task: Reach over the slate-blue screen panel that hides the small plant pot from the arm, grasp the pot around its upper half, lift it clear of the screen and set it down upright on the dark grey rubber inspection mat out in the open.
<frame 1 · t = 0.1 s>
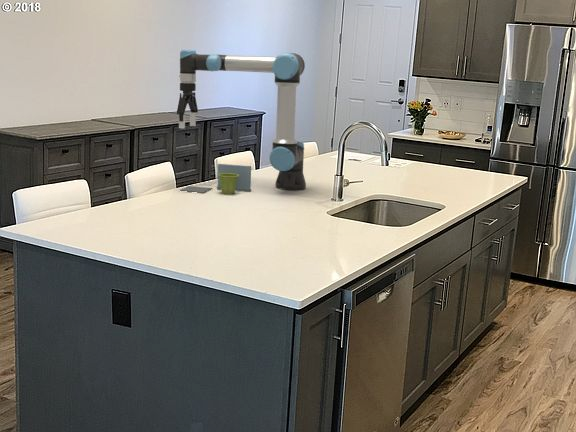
hand: (187, 127, 372), 28 cm above the countertop, fingers open, 13 cm apart
mat: (196, 190, 363), on the countertop
plant pot: (228, 193, 359), on the countertop
screen: (234, 190, 367), on the countertop
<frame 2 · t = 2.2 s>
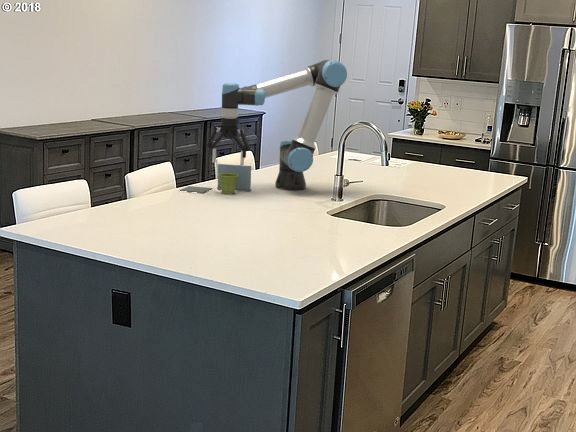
hand: (228, 163, 356), 14 cm above the countertop, fingers open, 13 cm apart
nothing on the countertop moved.
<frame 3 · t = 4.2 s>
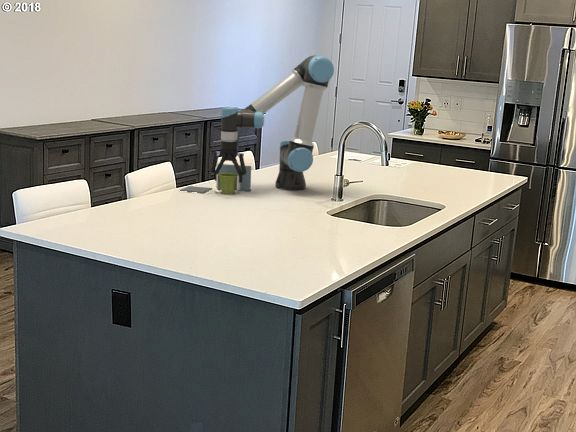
hand: (228, 188, 358), 2 cm above the countertop, fingers closed on plant pot, 9 cm apart
plant pot: (228, 193, 359), on the countertop, touching gripper
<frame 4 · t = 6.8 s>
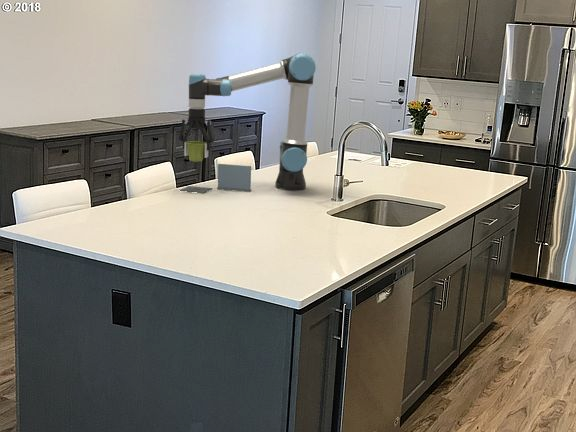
hand: (196, 156, 359), 16 cm above the countertop, fingers closed on plant pot, 9 cm apart
plant pot: (196, 161, 360), point 14 cm above the countertop, touching gripper
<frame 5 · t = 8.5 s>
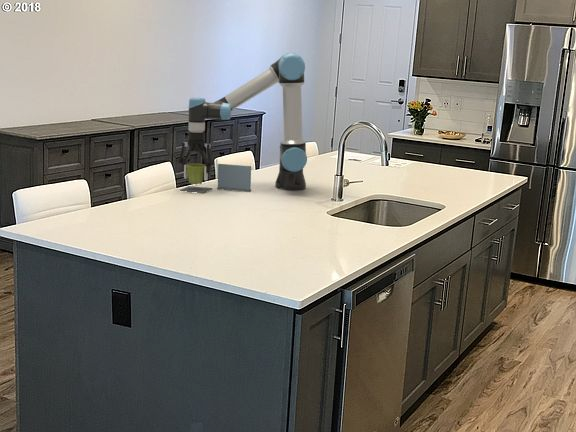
hand: (195, 179, 362), 5 cm above the countertop, fingers closed on plant pot, 9 cm apart
plant pot: (195, 183, 362), point 3 cm above the countertop, touching gripper
when the fingers open (3 cm above the countertop, at t = 9.9 s): plant pot stays where it is, resting on mat.
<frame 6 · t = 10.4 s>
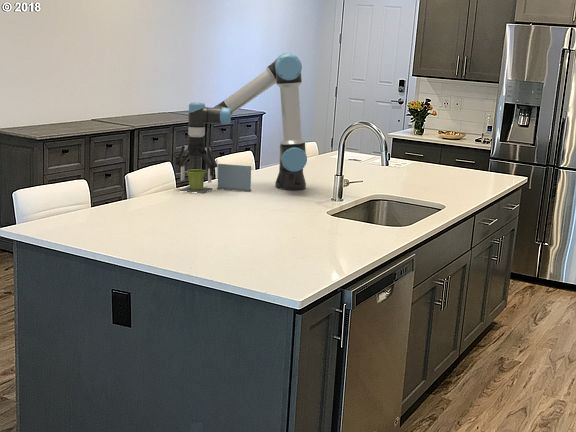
hand: (196, 181, 362), 4 cm above the countertop, fingers open, 13 cm apart
plant pot: (196, 189, 363), resting on mat
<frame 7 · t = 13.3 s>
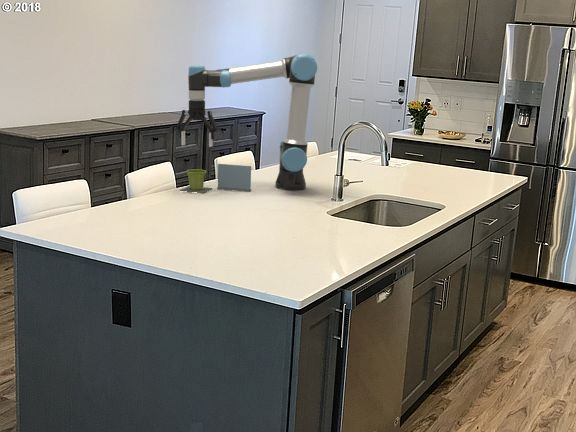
hand: (197, 145, 358), 21 cm above the countertop, fingers open, 13 cm apart
nothing on the countertop moved.
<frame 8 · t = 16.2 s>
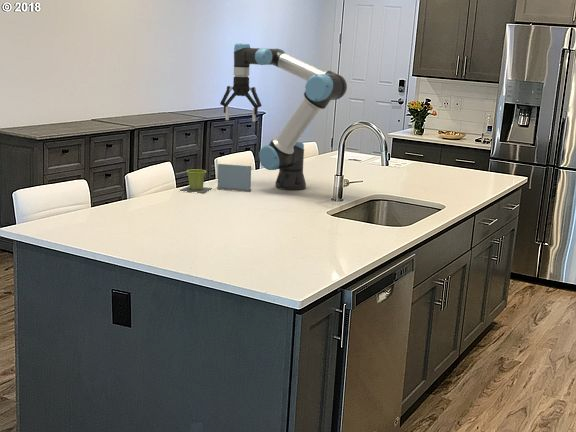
hand: (240, 120, 373), 32 cm above the countertop, fingers open, 13 cm apart
nothing on the countertop moved.
at the end: plant pot inside the target area on the mat (0.2 cm from its centre), point 0.4 cm above the mat's base; plant pot tilted 0°; the gripper is holding nothing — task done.
